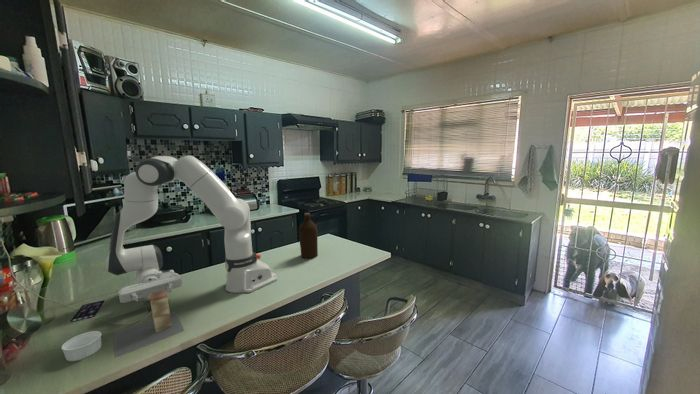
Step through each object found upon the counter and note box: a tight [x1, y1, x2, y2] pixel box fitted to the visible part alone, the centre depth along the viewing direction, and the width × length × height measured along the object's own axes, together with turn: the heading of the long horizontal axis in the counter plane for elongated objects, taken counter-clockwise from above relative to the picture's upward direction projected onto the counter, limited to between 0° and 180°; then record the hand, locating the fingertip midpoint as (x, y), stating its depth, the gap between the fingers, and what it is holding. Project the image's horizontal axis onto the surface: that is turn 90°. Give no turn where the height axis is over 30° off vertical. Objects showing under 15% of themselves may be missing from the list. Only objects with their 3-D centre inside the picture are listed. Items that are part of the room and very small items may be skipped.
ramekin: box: [61, 330, 102, 362], centre depth 85 cm, size 9×9×4 cm
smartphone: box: [68, 299, 106, 324], centre depth 109 cm, size 8×1×15 cm
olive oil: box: [298, 212, 319, 260], centre depth 158 cm, size 11×11×25 cm
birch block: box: [148, 290, 172, 332], centre depth 96 cm, size 4×4×12 cm
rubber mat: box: [113, 311, 185, 358], centre depth 94 cm, size 18×16×1 cm
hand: (154, 294), depth 105 cm, fingers open, 8 cm apart
